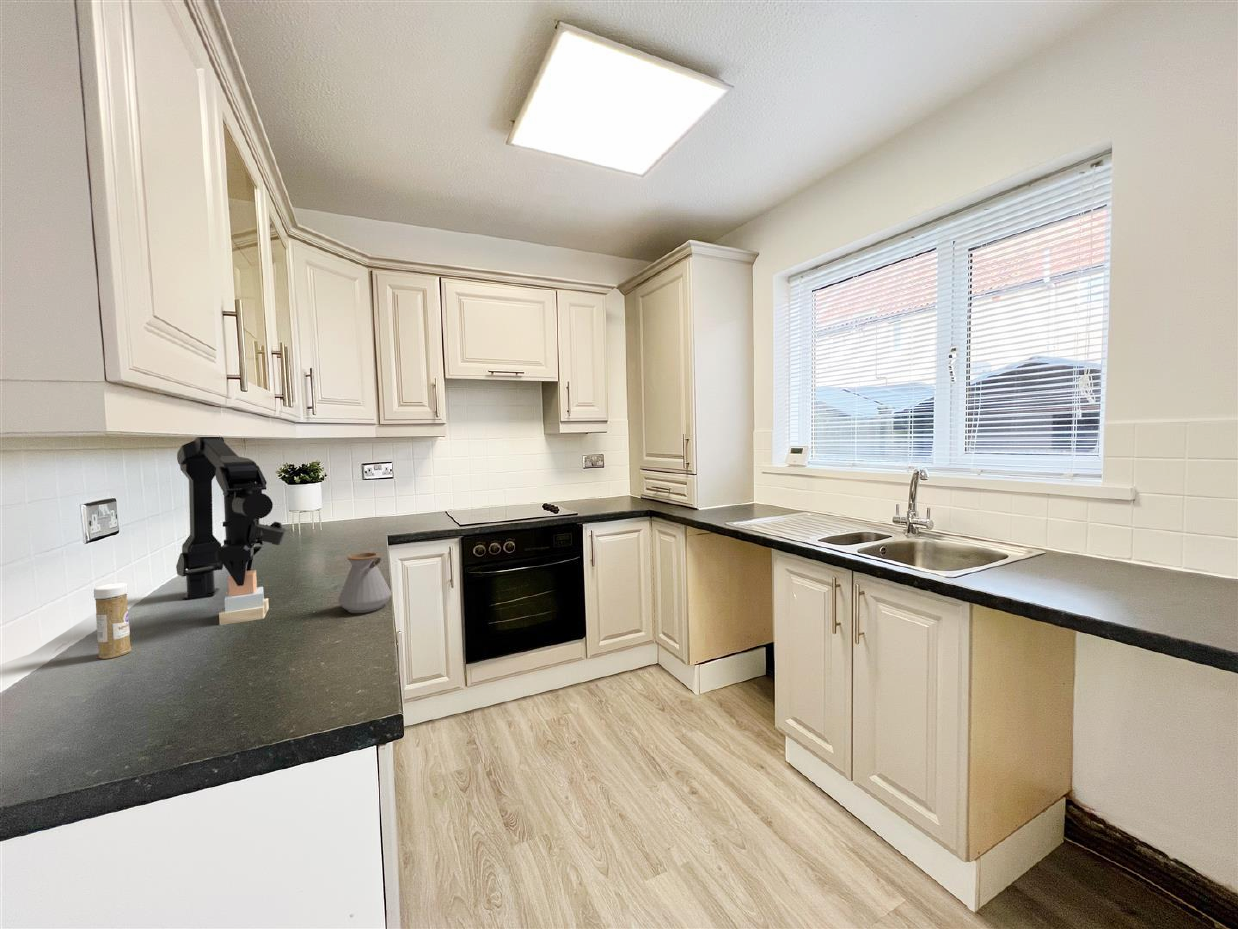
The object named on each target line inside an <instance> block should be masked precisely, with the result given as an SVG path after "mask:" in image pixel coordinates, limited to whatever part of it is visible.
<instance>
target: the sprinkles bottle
mask: <svg viewBox="0 0 1238 929" xmlns="http://www.w3.org/2000/svg"><path fill="white" fill-rule="evenodd" d="M128 589H129V588H128V583H125V582H115V583H108V584H103V585H100V586H99V585H98V586H97V587H94V588H93V598H94V601H95V609H96V613H95V620H96V621H95V623H96V636H97V642H98V658H99V659H103V660H105V659H113V658H118V657H121V656H123V655H126V654H128V653H129V652H131V651H132V647H131V641H130V640H131V638H130V634H131V633H130V632H131V631H130V630H131V629H130V618H129V607H128V593H129V590H128Z"/></svg>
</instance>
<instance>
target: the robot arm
mask: <svg viewBox="0 0 1238 929" xmlns="http://www.w3.org/2000/svg"><path fill="white" fill-rule="evenodd" d="M176 458H177V459H176V460H177V463H178V465H179V467H180V471H181V472H182V473H183V475H184V476H186V478H187V479H188V498H189V501H188V502H189V504H188V505H189V535H188V536H187V537H186V539H185V541H184V542H183V544H182V546H181V553H180V554H179V556H178V559H177V563H176V565H175V566H176V567H175V569H176V574H177V575H178V576H180V577H183V578H184V577H185V580H186V582H185V583H186V594H185V595H184V596H182V597H181V598H182V600H189V599H199V598H207V597H214V596H215V595H216V594H217V593H218V591H220V587H216V585H215V583H216V582H215V571H222V570H223V569H224V568H225V570H227V572H228V573H229V576H230V575H231V576H232V578H233V580H234V581H235V583H236V584H237V586H243V585H244V581H245V575H246V571H252V568H253V563H254V559H255V555H256V554H258V552H259V551H260V550H262V549H263V546H264V544H265V543H269V544H272V545H275V546H280V545H281V544H282V542H283V539H284V538H285V534H286V532H287V529H286V528H283V525H282V523H281V522H279V521H273V523H271V524H270V525H268V524H261V523H260V519H263V518H265V517H267V516H268V515H270V514H271V512H272V510H273V505H274V504H273V501H272V499H271V498H270V496H268V495H267V494H265V493H263V491H264V490H265V491H266V490H267V483H268V481H267V480H266V478H265V476H264V474H263V472H262V470H261V468H260V466H259V465H257V462H255V460H252V459H250V458H249V457H242V456H239V455H238V454H236V452H235V451H233V450H232V448H231V447H230V446H228V445H227V443H226V442H225V439H224V437H222V436H219V437H200V436H197V437H195V439H194V440H191V441H190V442H187V443H185V444H182V445H181V446H180V448H179V449H178V451H177V454H176ZM214 478H215V480H216V482H217V484H218V486H219V487H220V489H221V491H222V495H223V505H224V506H223V507H224V510H223V511H224V521H222V527H225V529H224V530H225V531H224V532H225V539H224V540H223V545H222V543H221V542H220V541H219V540H218V539H217V538H216V536H214V532H213V530H214V528H213V527H214V526H213V523H214V522H213V479H214ZM256 544H259V545H260V546H256ZM223 567H224V568H223Z"/></svg>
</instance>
